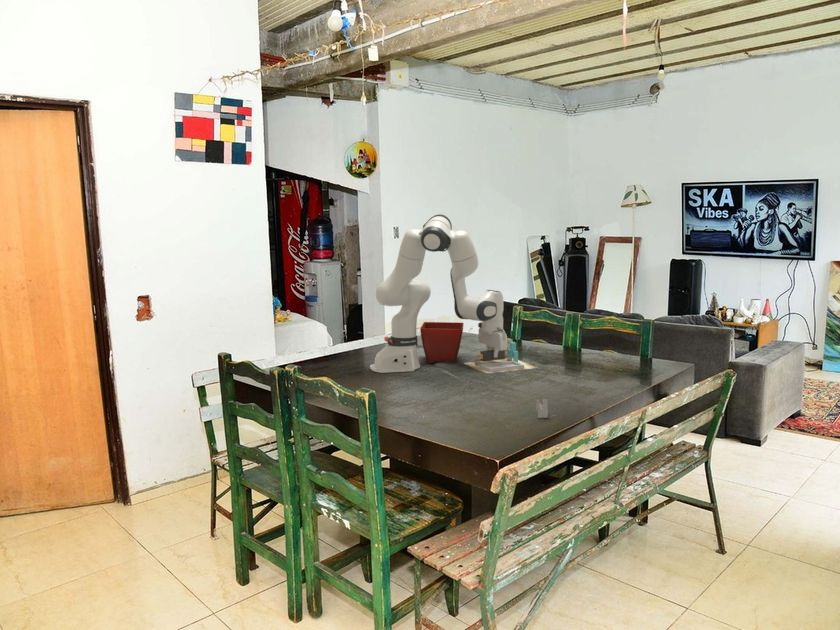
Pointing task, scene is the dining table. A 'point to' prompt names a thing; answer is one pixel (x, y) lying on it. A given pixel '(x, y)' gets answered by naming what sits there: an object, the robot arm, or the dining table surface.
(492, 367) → the tray
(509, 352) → the teal stepped block
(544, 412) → the architectural model
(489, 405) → the dining table surface
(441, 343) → the plant pot
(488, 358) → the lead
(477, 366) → the board
